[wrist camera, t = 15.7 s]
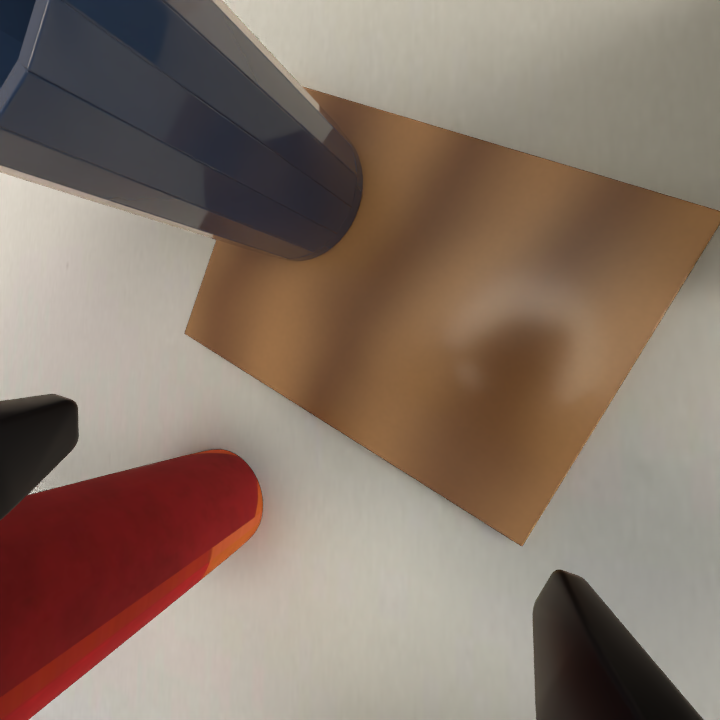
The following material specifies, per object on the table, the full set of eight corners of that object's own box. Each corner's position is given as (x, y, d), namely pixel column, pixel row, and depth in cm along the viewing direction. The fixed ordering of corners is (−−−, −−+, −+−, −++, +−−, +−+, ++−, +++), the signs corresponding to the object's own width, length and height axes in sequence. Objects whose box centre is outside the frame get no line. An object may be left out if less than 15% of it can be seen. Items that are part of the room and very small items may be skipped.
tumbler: (376, 121, 18) (75, -286, 6) (348, 270, 19) (37, 156, 7) (256, 120, 21) (-121, -174, 9) (236, 252, 22) (-133, 144, 10)
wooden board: (720, 217, 14) (727, 212, 14) (522, 540, 17) (521, 547, 17) (278, 83, 21) (271, 76, 20) (191, 333, 24) (183, 333, 23)
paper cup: (178, 417, 25) (-215, 503, 12) (286, 446, 22) (-80, 603, 9) (169, 541, 25) (-209, 749, 13) (272, 586, 22) (-83, 916, 10)
